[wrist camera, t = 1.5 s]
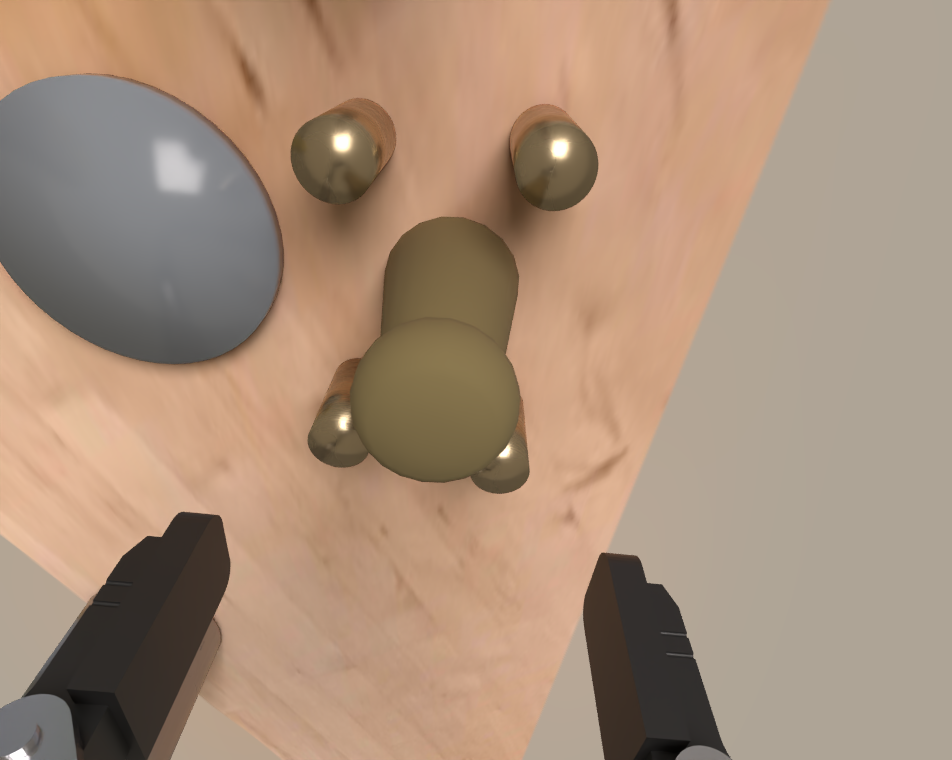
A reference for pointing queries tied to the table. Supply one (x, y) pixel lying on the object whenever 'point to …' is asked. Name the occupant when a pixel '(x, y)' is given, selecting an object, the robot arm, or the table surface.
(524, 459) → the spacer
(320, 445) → the cylinder
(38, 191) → the slate coaster
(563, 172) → the cylinder
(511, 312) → the cork
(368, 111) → the cylinder
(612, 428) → the table surface
